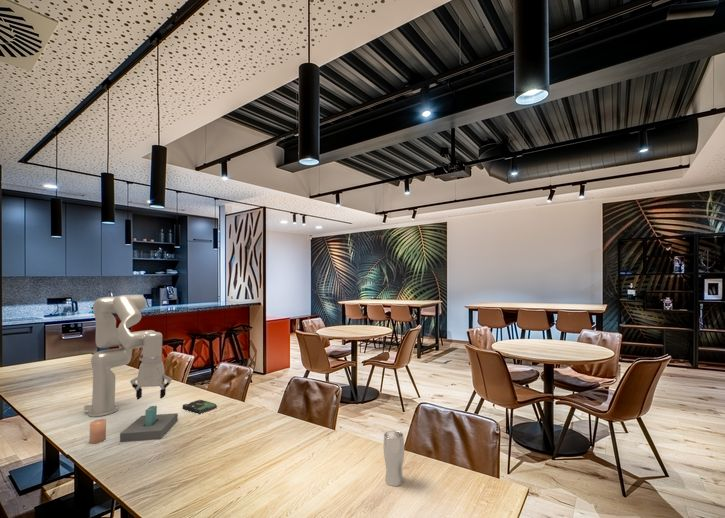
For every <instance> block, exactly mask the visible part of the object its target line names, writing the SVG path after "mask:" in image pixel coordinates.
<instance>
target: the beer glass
mask: <svg viewBox="0 0 725 518" xmlns="http://www.w3.org/2000/svg"><path fill="white" fill-rule="evenodd" d="M382 446H383V457H384V462H385V469H386V471H385V478H384V479H385V484H387V485H389V486H391V487H399V486H401V485H403V484H404V475H403V464H404V457H405V440H404V434H403V432H401V431H398V430H388V431H386V432H384V434H383V445H382Z"/></svg>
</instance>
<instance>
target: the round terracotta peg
mask: <svg viewBox="0 0 725 518" xmlns="http://www.w3.org/2000/svg"><path fill="white" fill-rule="evenodd" d="M106 433H107V419H104V418H102V419H96V420H93V421H91V422H90V423H89V445H96V444H101V443H103V442H105V441H106V440H105V439H106V438H107V436H106V435H107V434H106ZM104 440H105V441H104ZM100 442H101V443H100Z"/></svg>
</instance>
